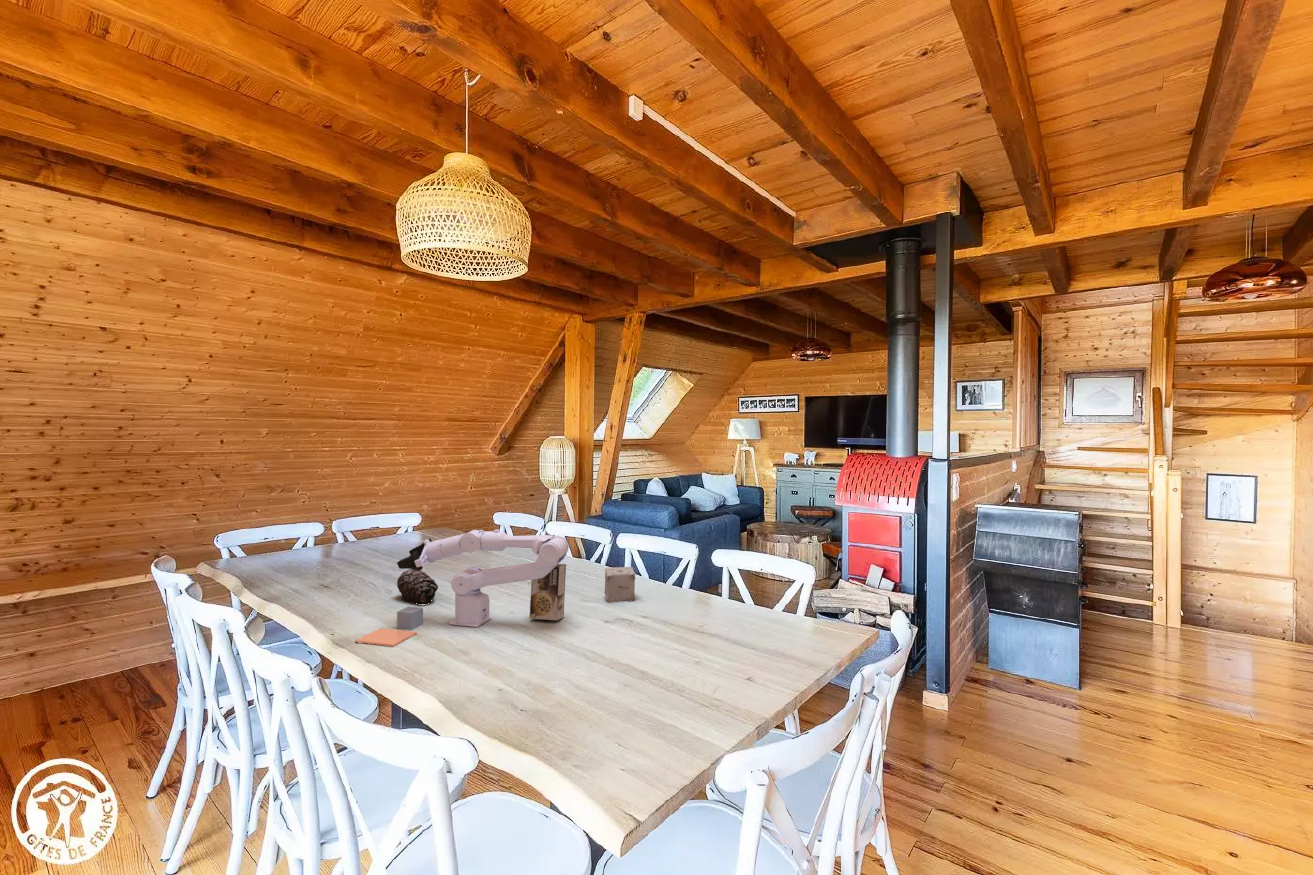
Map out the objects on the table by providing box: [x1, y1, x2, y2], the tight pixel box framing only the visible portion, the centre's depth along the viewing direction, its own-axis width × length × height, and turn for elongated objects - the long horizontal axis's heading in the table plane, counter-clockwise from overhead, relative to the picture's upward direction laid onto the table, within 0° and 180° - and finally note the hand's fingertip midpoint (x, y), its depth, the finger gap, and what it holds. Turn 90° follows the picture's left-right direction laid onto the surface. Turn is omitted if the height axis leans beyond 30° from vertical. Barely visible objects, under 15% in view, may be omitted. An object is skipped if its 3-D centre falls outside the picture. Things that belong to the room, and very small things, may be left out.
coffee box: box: [529, 563, 567, 621], centre depth 179 cm, size 9×6×16 cm
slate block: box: [396, 606, 424, 631], centre depth 171 cm, size 5×5×5 cm
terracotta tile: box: [354, 627, 418, 648], centre depth 162 cm, size 12×10×1 cm
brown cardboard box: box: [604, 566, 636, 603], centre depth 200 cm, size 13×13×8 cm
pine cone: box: [396, 569, 439, 605], centre depth 198 cm, size 10×18×10 cm, turn 56°
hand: (404, 559), depth 178 cm, fingers open, 7 cm apart
